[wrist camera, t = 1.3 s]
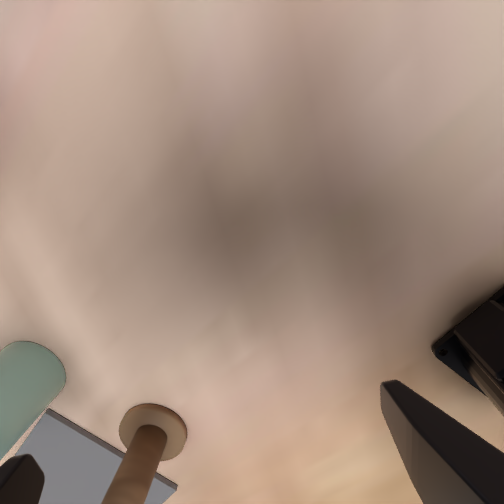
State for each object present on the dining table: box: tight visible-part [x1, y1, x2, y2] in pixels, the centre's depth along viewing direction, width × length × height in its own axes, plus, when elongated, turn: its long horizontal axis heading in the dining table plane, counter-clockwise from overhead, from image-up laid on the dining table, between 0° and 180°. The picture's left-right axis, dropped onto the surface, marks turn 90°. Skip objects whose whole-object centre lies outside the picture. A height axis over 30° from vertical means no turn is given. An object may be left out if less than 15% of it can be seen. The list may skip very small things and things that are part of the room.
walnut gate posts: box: [101, 404, 187, 504], centre depth 21 cm, size 21×5×9 cm, turn 98°
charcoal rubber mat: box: [15, 409, 178, 504], centre depth 27 cm, size 12×12×1 cm
